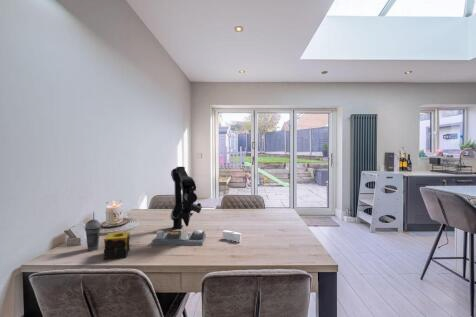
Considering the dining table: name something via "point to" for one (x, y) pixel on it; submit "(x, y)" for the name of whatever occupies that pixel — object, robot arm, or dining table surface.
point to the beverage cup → (92, 234)
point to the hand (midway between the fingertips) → (187, 226)
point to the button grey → (197, 232)
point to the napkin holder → (232, 235)
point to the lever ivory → (184, 235)
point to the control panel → (176, 239)
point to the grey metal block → (160, 234)
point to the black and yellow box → (116, 245)
